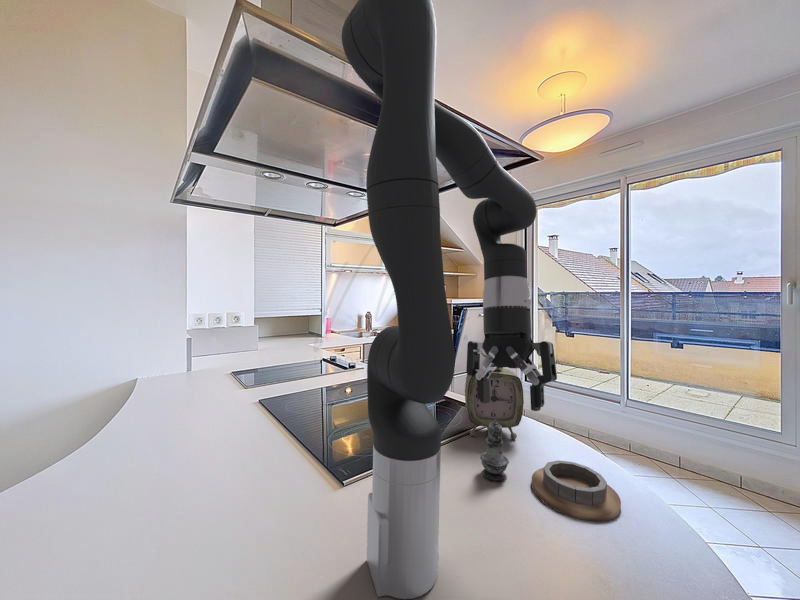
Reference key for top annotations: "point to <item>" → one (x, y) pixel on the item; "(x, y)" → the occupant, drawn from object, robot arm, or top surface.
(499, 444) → the grey tall piece
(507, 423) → the tabletop clock
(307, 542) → the top surface
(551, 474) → the socket stand
